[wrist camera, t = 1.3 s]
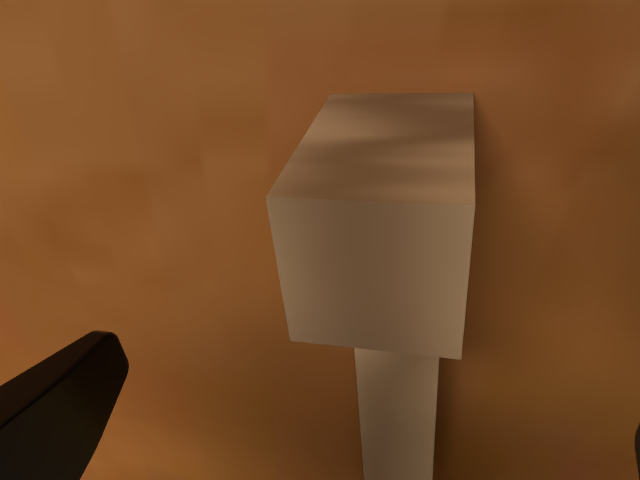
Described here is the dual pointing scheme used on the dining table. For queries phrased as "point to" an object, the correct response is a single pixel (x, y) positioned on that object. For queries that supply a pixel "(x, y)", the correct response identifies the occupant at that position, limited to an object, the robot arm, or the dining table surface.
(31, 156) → the dining table surface
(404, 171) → the wooden mallet
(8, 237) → the dining table surface
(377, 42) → the dining table surface
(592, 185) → the dining table surface
